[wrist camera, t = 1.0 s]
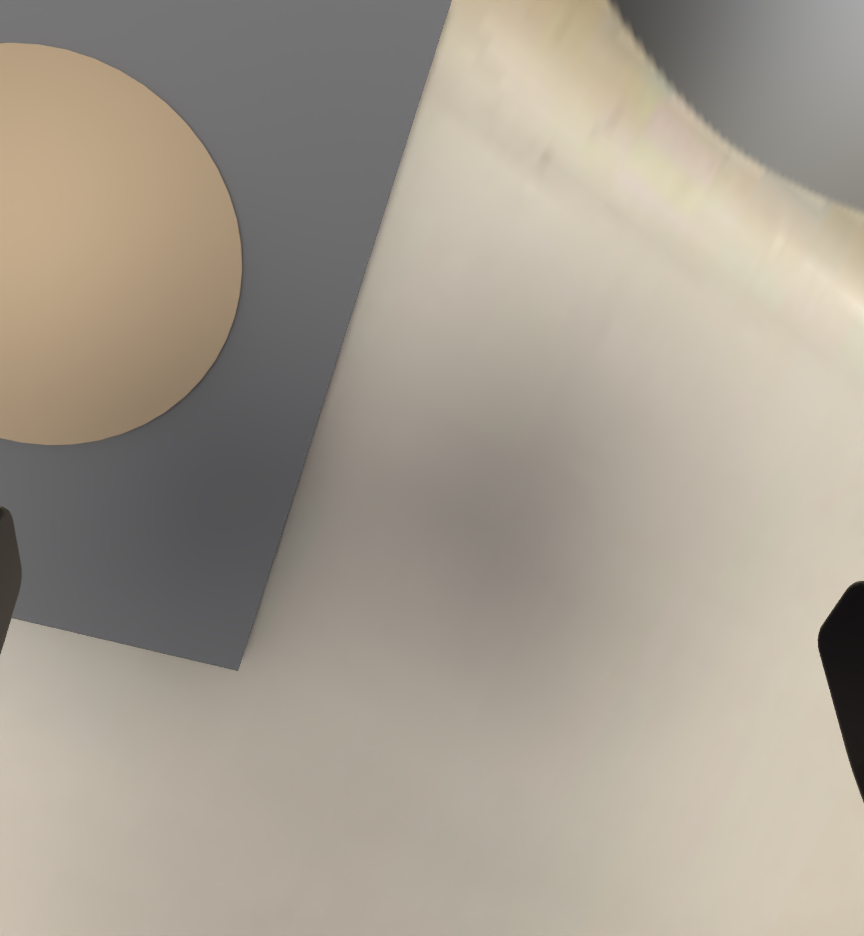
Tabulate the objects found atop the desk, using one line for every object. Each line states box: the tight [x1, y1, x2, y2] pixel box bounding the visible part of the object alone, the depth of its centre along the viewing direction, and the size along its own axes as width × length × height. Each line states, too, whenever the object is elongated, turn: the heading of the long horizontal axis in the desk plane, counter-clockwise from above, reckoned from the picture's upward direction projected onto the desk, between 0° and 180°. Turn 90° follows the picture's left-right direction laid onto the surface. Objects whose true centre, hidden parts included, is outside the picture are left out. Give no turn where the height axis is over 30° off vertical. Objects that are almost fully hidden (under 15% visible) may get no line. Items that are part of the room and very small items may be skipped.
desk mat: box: [0, 0, 451, 671], centre depth 21 cm, size 20×16×1 cm
